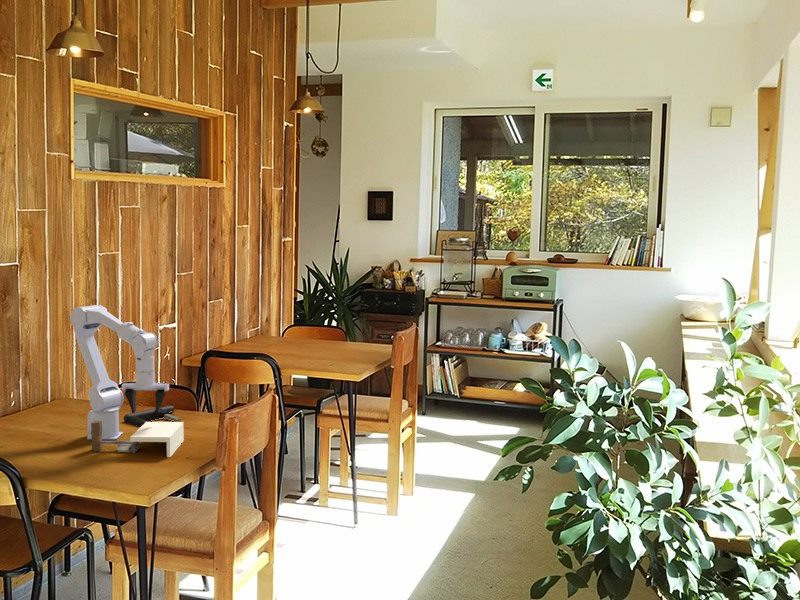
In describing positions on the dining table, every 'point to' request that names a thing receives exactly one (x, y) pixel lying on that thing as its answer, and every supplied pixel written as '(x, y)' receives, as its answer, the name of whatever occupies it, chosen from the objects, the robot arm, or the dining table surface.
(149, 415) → the door handle
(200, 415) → the dining table surface
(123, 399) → the robot arm
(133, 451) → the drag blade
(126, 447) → the grey round disc
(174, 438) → the white bridge block
